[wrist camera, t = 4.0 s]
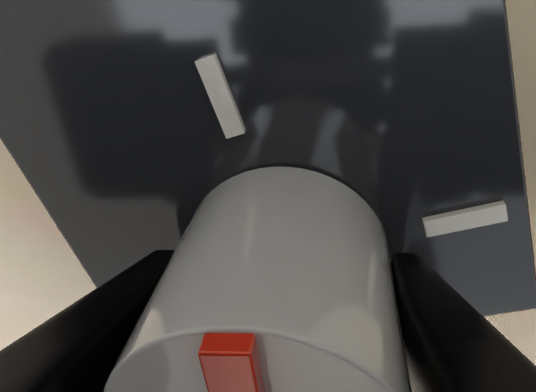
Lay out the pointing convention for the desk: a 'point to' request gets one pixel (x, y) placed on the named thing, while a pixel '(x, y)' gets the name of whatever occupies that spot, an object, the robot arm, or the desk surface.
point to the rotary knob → (272, 296)
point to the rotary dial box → (273, 122)
